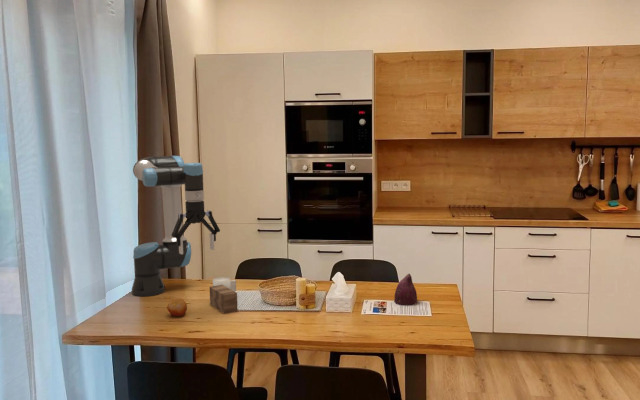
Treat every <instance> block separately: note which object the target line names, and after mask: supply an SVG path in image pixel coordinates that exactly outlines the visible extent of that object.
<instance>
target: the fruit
mask: <svg viewBox="0 0 640 400" xmlns="http://www.w3.org/2000/svg"><path fill="white" fill-rule="evenodd" d="M187 307H188V305H187V302H186V301H185V299H183V298H181V297H180V298H179V297H178V298H174V299H172V300H170V301H169V302H168V303H167V305H166V309H167V312H168V313H169V314H170V316H172V317H174V318H176V317H184V316H185V315H186V314H187V310H188V309H187Z"/></svg>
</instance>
